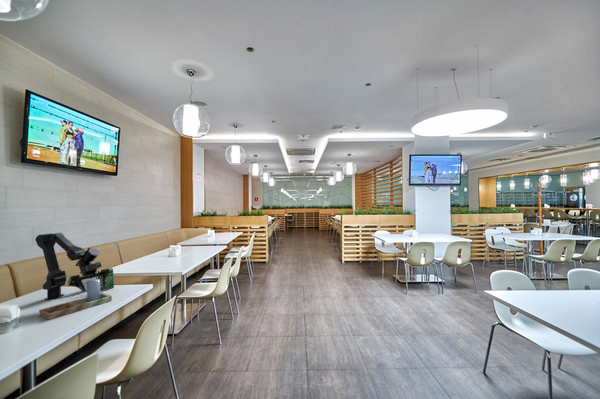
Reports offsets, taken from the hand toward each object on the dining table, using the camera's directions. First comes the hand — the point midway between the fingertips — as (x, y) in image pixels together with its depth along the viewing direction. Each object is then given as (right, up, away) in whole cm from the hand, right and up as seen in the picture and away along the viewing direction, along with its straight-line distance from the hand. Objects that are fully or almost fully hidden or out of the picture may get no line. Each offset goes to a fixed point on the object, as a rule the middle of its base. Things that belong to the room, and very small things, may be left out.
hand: (94, 288), depth 145 cm
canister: (-1, -8, +1) cm, 8 cm away
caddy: (-5, -8, -6) cm, 11 cm away
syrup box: (-22, -9, +24) cm, 34 cm away
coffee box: (-11, -9, +23) cm, 27 cm away
